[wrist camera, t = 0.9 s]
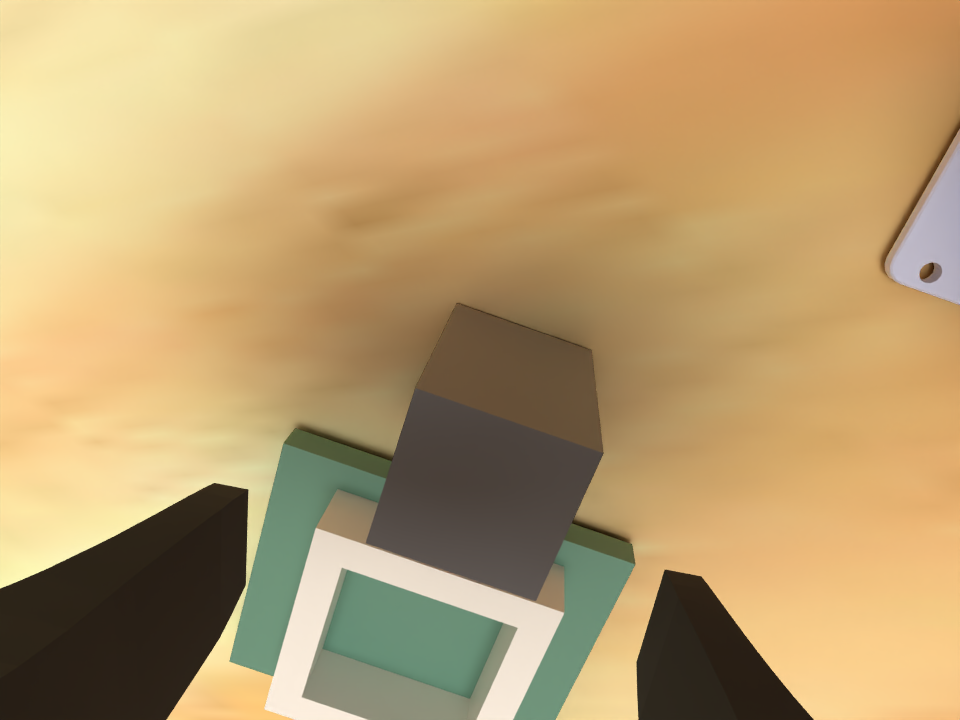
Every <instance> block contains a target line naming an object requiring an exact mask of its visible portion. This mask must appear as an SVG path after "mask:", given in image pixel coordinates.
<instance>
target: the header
mask: <svg viewBox="0 0 960 720" xmlns="http://www.w3.org/2000/svg"><path fill="white" fill-rule="evenodd" d="M377 506H378V503H377V502H374V501H371V500H368V499H365V498H362V497H359V496H356V495H353V494H351V493H348V492H345V491H342V490H339V489H337V491H336V493H335V495H334V496H333V498H332V500H331V502H330V503H329V505H328V507H327V509H326V511H325V512H324V514H323V516H322V518H321V519H320V521H319V523H318V525H317V527H316V529H315V532H314V536H313V539H312V543H311V546H310V550H309V553H308V557H307V560H306V564H305V568H304V571H303V575H302V578H301V582H300V585H299V589H298V592H297V596H296V599H295V603H294V606H293V610H292V613H291V617H290V620H289V624H288V627H287V631H286V634H285V638H284V641H283V645H282V648H281V652H280V655H279V659H278V663H277V666H276V670H275V673H274V677H273V680H272V684H271V687H270V691H269V694H268V698H267V701H266V705H265V708H264V709H265V710H268V711H271V712H274V713H277V714H280V715H283V716H286V717H289V718H292V719H295V720H513V719H514V717H515V715H516V713H517V710H518V708H519V706H520V704H521V702H522V700H523V698H524V696H525V694H526V692H527V690H528V688H529V686H530V683H531V681H532V679H533V677H534V675H535V673H536V671H537V669H538V667H539V665H540V663H541V661H542V659H543V656H544V654H545V652H546V650H547V648H548V646H549V644H550V642H551V640H552V638H553V636H554V634H555V632H556V629H557V627H558V625H559V623H560V621H561V619H562V617H563V615H564V567H563V566H560V565H557V564H554V563H553V565H552V567H551V569H550V571H549V574H548V576H547V578H546V580H545V582H544V585H543V587H542V589H541V591H540V593H539V596H538V598H537V600H536V601H533V600H530V599H527V598H524V597H521V596H518V595H516V594H513V593H510V592H507V591H504V590H501V589H498V588H495V587H492V586H489V585H486V584H483V583H480V582H478V581H475V580H472V579H469V578H466V577H463V576H460V575H457V574H454V573H451V572H448V571H445V570H442V569H439V568H437V567H434V566H431V565H428V564H425V563H422V562H419V561H416V560H413V559H410V558H407V557H404V556H401V555H399V554H396V553H393V552H390V551H387V550H384V549H381V548H378V547H375V546H372V545H369V544H366V540H367V537H368V534H369V531H370V528H371V524H372V521H373V518H374V515H375V512H376V509H377ZM347 570H350V571H353V572H356V573H359V574H362V575H365V576H368V577H371V578H374V579H376V580H379V581H382V582H385V583H388V584H391V585H394V586H397V587H400V588H403V589H406V590H409V591H412V592H415V593H417V594H420V595H423V596H426V597H429V598H432V599H435V600H438V601H441V602H444V603H447V604H450V605H453V606H456V607H458V608H461V609H464V610H467V611H470V612H473V613H476V614H479V615H482V616H485V617H488V618H491V619H494V620H496V621H499V622H502V623H503V625H502V627H501V630H500V632H499V634H498V636H497V639H496V641H495V643H494V645H493V648H492V650H491V652H490V655H489V657H488V659H487V661H486V664H485V666H484V668H483V670H482V673H481V675H480V677H479V680H478V682H477V684H476V686H475V689H474V691H473V693H472V695H471V698H470V699H469V698H466V697H463V696H460V695H457V694H454V693H451V692H448V691H445V690H442V689H439V688H436V687H433V686H430V685H427V684H424V683H422V682H419V681H416V680H413V679H410V678H407V677H404V676H401V675H398V674H395V673H392V672H389V671H386V670H383V669H380V668H377V667H374V666H371V665H368V664H366V663H363V662H360V661H357V660H354V659H351V658H348V657H345V656H342V655H339V654H336V653H333V652H330V651H327V650H324V649H322V648H323V645H324V642H325V639H326V636H327V632H328V629H329V626H330V623H331V620H332V617H333V613H334V610H335V607H336V604H337V601H338V598H339V594H340V591H341V588H342V585H343V582H344V578H345V575H346V572H347Z"/></svg>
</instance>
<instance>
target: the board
mask: <svg viewBox="0 0 960 720" xmlns="http://www.w3.org/2000/svg"><path fill="white" fill-rule="evenodd" d="M391 462H392V461H389V460H386V459H384V458H381V457H378V456H375V455H372V454H369V453H366V452H363V451H360V450H357V449H355V448H352V447H349V446H346V445H343V444H340V443H337V442H334V441H331V440H328V439H326V438H323V437H320V436H317V435H314V434H311V433H308V432H305V431H302V430H299V429H297V428H295V429H294V431H293V432H292V433H291V435H290V436H289V437H288V438H287V440H286V441H285V442H284V444H283V448H282V452H281V456H280V460H279V464H278V468H277V472H276V476H275V480H274V484H273V488H272V492H271V496H270V500H269V504H268V508H267V512H266V516H265V520H264V524H263V528H262V532H261V536H260V540H259V544H258V548H257V552H256V556H255V560H254V565H253V569H252V573H251V577H250V581H249V585H248V589H247V593H246V597H245V601H244V605H243V609H242V613H241V617H240V621H239V625H238V629H237V633H236V637H235V641H234V645H233V649H232V653H231V657H230V661H229V662H232V663H235V664H238V665H241V666H244V667H247V668H250V669H253V670H256V671H259V672H262V673H265V674H268V675H271V676H274V673H275V670H276V666H277V663H278V659H279V655H280V652H281V648H282V645H283V641H284V638H285V634H286V631H287V627H288V624H289V620H290V617H291V613H292V610H293V606H294V603H295V599H296V596H297V592H298V589H299V585H300V582H301V578H302V575H303V571H304V568H305V564H306V560H307V557H308V553H309V550H310V546H311V543H312V539H313V536H314V532H315V529H316V527H317V525H318V523H319V521H320V519H321V518H322V516H323V514H324V512H325V511H326V509H327V507H328V505H329V503H330V502H331V500H332V498H333V496H334V495H335V493H336V491H337V489H339V490H342V491H345V492H348V493H351V494H353V495H356V496H359V497H362V498H365V499H368V500H371V501H374V502H377V503H379V500H380V496H381V493H382V490H383V487H384V484H385V481H386V478H387V475H388V472H389V468H390V465H391ZM554 564H557V565H560V566H563V567H564V615H563V617H562V619H561V621H560V623H559V625H558V627H557V629H556V632H555V634H554V636H553V638H552V640H551V642H550V644H549V646H548V648H547V650H546V652H545V654H544V656H543V659H542V661H541V663H540V665H539V667H538V669H537V671H536V673H535V675H534V677H533V679H532V681H531V683H530V686H529V688H528V690H527V692H526V694H525V696H524V698H523V700H522V702H521V704H520V706H519V708H518V710H517V713H516V715H515V717H514V719H513V720H556V718H557V716H558V714H559V712H560V710H561V708H562V706H563V704H564V702H565V700H566V698H567V696H568V694H569V692H570V690H571V688H572V686H573V685H574V683H575V681H576V679H577V677H578V675H579V673H580V671H581V669H582V667H583V665H584V663H585V661H586V659H587V657H588V655H589V653H590V652H591V650H592V648H593V646H594V644H595V642H596V640H597V638H598V636H599V634H600V632H601V630H602V628H603V626H604V624H605V622H606V620H607V618H608V617H609V615H610V613H611V611H612V609H613V607H614V605H615V603H616V601H617V599H618V597H619V595H620V593H621V591H622V589H623V587H624V585H625V584H626V582H627V580H628V578H629V576H630V574H631V572H632V570H633V568H634V566H635V559H634V553H633V546H632V544H630V543H627V542H624V541H621V540H619V539H616V538H613V537H610V536H607V535H604V534H601V533H598V532H595V531H592V530H590V529H587V528H584V527H581V526H578V525H575V524H572V523H571V526H570V528H569V530H568V532H567V534H566V536H565V539H564V541H563V543H562V545H561V547H560V550H559V552H558V554H557V556H556V558H555V561H554ZM502 625H503V623H502V622H499V621H496V620H494V619H491V618H488V617H485V616H482V615H479V614H476V613H473V612H470V611H467V610H464V609H461V608H458V607H456V606H453V605H450V604H447V603H444V602H441V601H438V600H435V599H432V598H429V597H426V596H423V595H420V594H417V593H415V592H412V591H409V590H406V589H403V588H400V587H397V586H394V585H391V584H388V583H385V582H382V581H379V580H376V579H374V578H371V577H368V576H365V575H362V574H359V573H356V572H353V571H350V570H347V572H346V575H345V578H344V582H343V585H342V588H341V591H340V594H339V598H338V601H337V604H336V607H335V610H334V613H333V617H332V620H331V623H330V626H329V629H328V632H327V636H326V639H325V642H324V645H323V648H322V649H324V650H327V651H330V652H333V653H336V654H339V655H342V656H345V657H348V658H351V659H354V660H357V661H360V662H363V663H366V664H368V665H371V666H374V667H377V668H380V669H383V670H386V671H389V672H392V673H395V674H398V675H401V676H404V677H407V678H410V679H413V680H416V681H419V682H422V683H424V684H427V685H430V686H433V687H436V688H439V689H442V690H445V691H448V692H451V693H454V694H457V695H460V696H463V697H466V698H469V699H470V698H471V695H472V693H473V691H474V689H475V686H476V684H477V682H478V680H479V677H480V675H481V673H482V670H483V668H484V666H485V664H486V661H487V659H488V657H489V655H490V652H491V650H492V648H493V645H494V643H495V641H496V639H497V636H498V634H499V632H500V630H501V627H502Z"/></svg>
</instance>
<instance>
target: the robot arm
mask: <svg viewBox="0 0 960 720" xmlns="http://www.w3.org/2000/svg"><path fill="white" fill-rule="evenodd" d="M930 262H933V264H934V271H933V273H932V274H931V275H930V276H929V277H927V278H925V279H920V276H919V273H920V270H921V268H922V267H923V266H924V265H925V264H928V263H930ZM885 272H886V273H887V275H888V277H889V278H891V279H893V280H894V281H896V282H898V283H899V284H902V285H905V286H907V287H910V288H913V289H916V290H919V291H921V292H924V293H927V294H930V295H933V296H936V297H938V298H941V299H944V300H947V301H950V302H953V303H955V304H958V305H960V129H959V131H958V133H957V134H956V136H955V138H954V140H953V141H952V143H951V145H950V147H949V149H948V150H947V152H946V154H945V156H944V157H943V159H942V161H941V163H940V164H939V166H938V168H937V170H936V171H935V173H934V175H933V177H932V178H931V180H930V182H929V184H928V185H927V187H926V189H925V191H924V193H923V194H922V196H921V198H920V200H919V201H918V203H917V205H916V207H915V208H914V210H913V212H912V214H911V215H910V217H909V219H908V221H907V222H906V224H905V226H904V228H903V229H902V231H901V233H900V235H899V236H898V238H897V240H896V242H895V244H894V245H893V247H892V249H891V251H890V252H889V254H888V256H887V258H886V261H885ZM247 517H248V489H243V488H237V487H232V486H227V485H222V484H217V483H213V484H211V485H209V486H207V487H205V488H203V489H201V490H199V491H197V492H196V493H194V494H192V495H190V496H188V497H186V498H184V499H183V500H181V501H179V502H177V503H175V504H173V505H172V506H170V507H168V508H166V509H164V510H162V511H161V512H159V513H157V514H155V515H153V516H151V517H150V518H148V519H146V520H144V521H142V522H140V523H138V524H136V525H135V526H133V527H131V528H129V529H127V530H125V531H123V532H121V533H120V534H118V535H116V536H114V537H112V538H110V539H108V540H106V541H104V542H102V543H100V544H98V545H96V546H94V547H92V548H90V549H87V550H85V551H83V552H81V553H79V554H77V555H75V556H73V557H71V558H69V559H67V560H65V561H63V562H61V563H58V564H56V565H54V566H52V567H50V568H48V569H46V570H44V571H41V572H39V573H37V574H35V575H32V576H30V577H28V578H25V579H23V580H20V581H18V582H16V583H13V584H11V585H8V586H6V587H3V588H1V589H0V720H166V719H167V718H168V716H169V715H170V713H171V712H172V710H173V709H174V707H175V706H176V704H177V703H178V701H179V700H180V698H181V697H182V695H183V694H184V692H185V691H186V689H187V688H188V686H189V685H190V683H191V681H192V680H193V678H194V677H195V675H196V674H197V672H198V671H199V669H200V668H201V666H202V665H203V663H204V662H205V660H206V658H207V657H208V655H209V654H210V652H211V651H212V649H213V648H214V646H215V644H216V643H217V641H218V640H219V638H220V636H221V634H222V632H223V630H224V628H225V626H226V624H227V622H228V621H229V619H230V617H231V615H232V613H233V610H234V608H235V606H236V604H237V602H238V600H239V598H240V596H241V594H242V591H243V589H244V587H245V585H246V553H247ZM637 696H638V717H639V720H814V719H813V718H812V717H811V716H810V715H809V714H808V713H807V711H806V710H805V709H804V708H803V707H802V706H801V705H800V703H799V702H798V701H797V700H796V699H795V698H794V697H793V695H792V694H791V693H790V692H789V690H788V689H787V688H786V687H785V686H784V684H783V683H782V682H781V681H780V680H779V678H778V677H777V676H776V675H775V673H774V672H773V671H772V670H771V668H770V667H769V666H768V665H767V663H766V662H765V661H764V659H763V658H762V657H761V656H760V654H759V653H758V652H757V650H756V649H755V648H754V646H753V645H752V644H751V643H750V641H749V640H748V639H747V637H746V636H745V635H744V633H743V632H742V631H741V629H740V628H739V627H738V625H737V624H736V622H735V621H734V620H733V618H732V617H731V616H730V614H729V613H728V612H727V610H726V609H725V608H724V606H723V605H722V603H721V602H720V601H719V599H718V598H717V597H716V595H715V594H714V593H713V591H712V590H711V589H710V587H709V586H708V585H707V583H706V582H705V581H704V579H703V578H702V577H701V576H696V575H691V574H685V573H680V572H675V571H670V570H665V571H664V574H663V577H662V580H661V584H660V587H659V590H658V594H657V597H656V600H655V603H654V607H653V610H652V613H651V617H650V620H649V623H648V626H647V630H646V633H645V636H644V640H643V643H642V646H641V650H640V653H639V656H638V659H637Z"/></svg>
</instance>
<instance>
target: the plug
mask: <svg viewBox="0 0 960 720" xmlns="http://www.w3.org/2000/svg"><path fill="white" fill-rule="evenodd" d="M602 455H603V444H602V436H601V427H600V419H599V410H598V402H597V393H596V385H595V376H594V368H593V359H592V351H591V350H589V349H586V348H583V347H581V346H578V345H575V344H572V343H569V342H566V341H563V340H561V339H558V338H555V337H552V336H549V335H546V334H543V333H540V332H538V331H535V330H532V329H529V328H526V327H523V326H520V325H518V324H515V323H512V322H509V321H506V320H503V319H500V318H497V317H495V316H492V315H489V314H486V313H483V312H480V311H477V310H475V309H472V308H469V307H466V306H463V305H460V304H456V306H455V308H454V310H453V312H452V314H451V316H450V318H449V320H448V322H447V324H446V326H445V328H444V330H443V333H442V335H441V337H440V339H439V341H438V343H437V345H436V347H435V349H434V351H433V353H432V355H431V357H430V359H429V361H428V363H427V365H426V367H425V369H424V371H423V373H422V375H421V377H420V380H419V382H418V384H417V386H416V388H415V391H414V394H413V397H412V400H411V403H410V406H409V409H408V412H407V416H406V419H405V422H404V425H403V428H402V431H401V434H400V437H399V440H398V444H397V447H396V450H395V453H394V456H393V459H392V462H391V465H390V468H389V472H388V475H387V478H386V481H385V484H384V487H383V490H382V493H381V496H380V500H379V503H378V506H377V509H376V512H375V515H374V518H373V521H372V524H371V528H370V531H369V534H368V537H367V540H366V544H369V545H372V546H375V547H378V548H381V549H384V550H387V551H390V552H393V553H396V554H399V555H401V556H404V557H407V558H410V559H413V560H416V561H419V562H422V563H425V564H428V565H431V566H434V567H437V568H439V569H442V570H445V571H448V572H451V573H454V574H457V575H460V576H463V577H466V578H469V579H472V580H475V581H478V582H480V583H483V584H486V585H489V586H492V587H495V588H498V589H501V590H504V591H507V592H510V593H513V594H516V595H518V596H521V597H524V598H527V599H530V600H533V601H536V600H537V598H538V596H539V593H540V591H541V589H542V587H543V585H544V582H545V580H546V578H547V576H548V574H549V571H550V569H551V567H552V565H553V563H554V561H555V558H556V556H557V554H558V552H559V550H560V547H561V545H562V543H563V541H564V539H565V536H566V534H567V532H568V530H569V528H570V526H571V523H572V521H573V519H574V517H575V515H576V512H577V510H578V508H579V506H580V504H581V501H582V499H583V497H584V495H585V493H586V491H587V488H588V486H589V484H590V482H591V480H592V477H593V475H594V473H595V471H596V469H597V466H598V464H599V462H600V460H601V458H602Z"/></svg>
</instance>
